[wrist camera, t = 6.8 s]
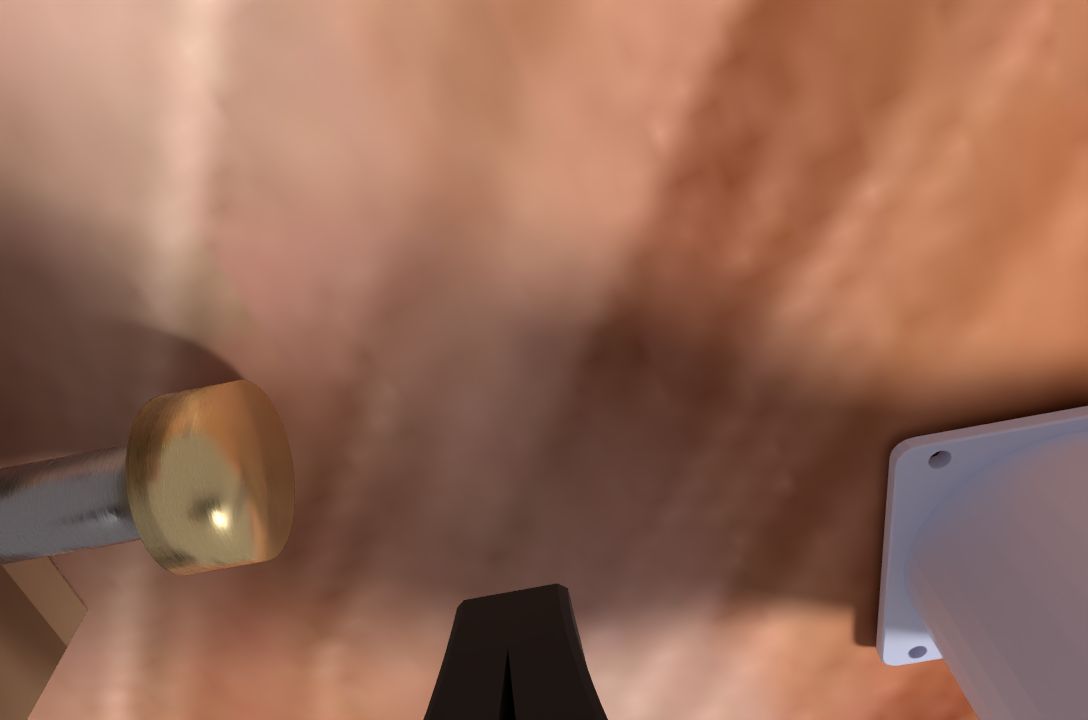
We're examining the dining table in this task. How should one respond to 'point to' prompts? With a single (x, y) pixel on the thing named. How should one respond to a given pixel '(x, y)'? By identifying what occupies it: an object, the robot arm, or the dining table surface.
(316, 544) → the dining table surface
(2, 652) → the wooden board with knobs
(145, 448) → the plunger
